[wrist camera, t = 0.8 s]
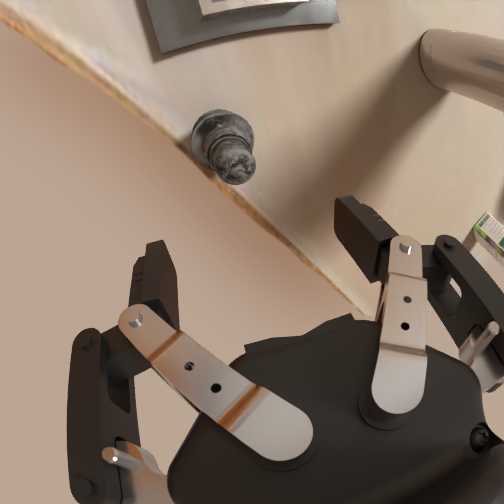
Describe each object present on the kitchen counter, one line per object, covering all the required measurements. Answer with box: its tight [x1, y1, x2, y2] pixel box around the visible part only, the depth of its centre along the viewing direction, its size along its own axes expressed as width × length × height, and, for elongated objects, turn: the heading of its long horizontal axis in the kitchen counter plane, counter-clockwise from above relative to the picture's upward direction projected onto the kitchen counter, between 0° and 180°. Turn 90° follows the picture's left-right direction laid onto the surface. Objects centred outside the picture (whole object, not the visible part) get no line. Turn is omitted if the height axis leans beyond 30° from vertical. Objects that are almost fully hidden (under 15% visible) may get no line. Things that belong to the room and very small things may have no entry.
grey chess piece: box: [191, 109, 256, 185], centre depth 23 cm, size 6×6×12 cm
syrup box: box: [473, 212, 504, 268], centre depth 43 cm, size 6×6×14 cm
